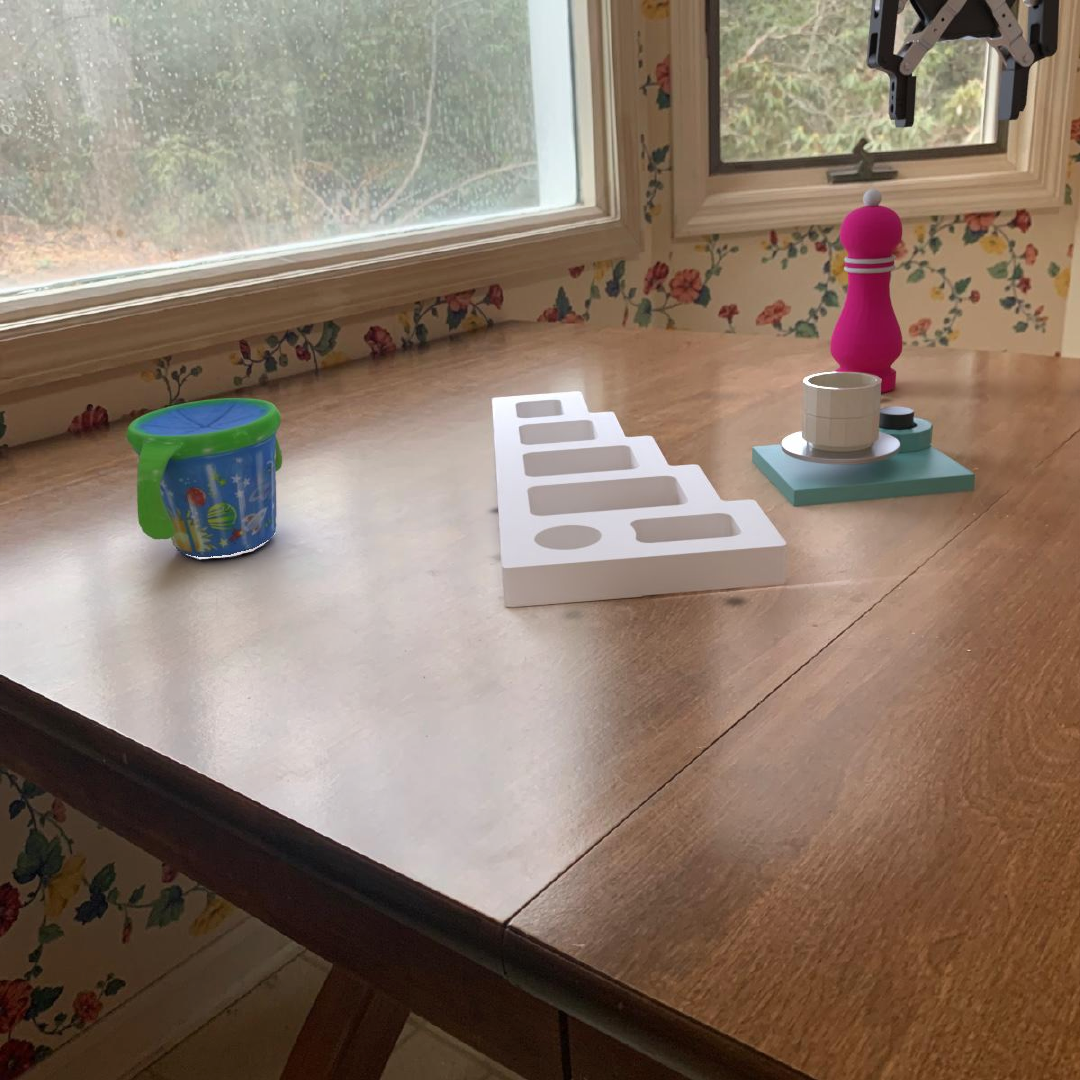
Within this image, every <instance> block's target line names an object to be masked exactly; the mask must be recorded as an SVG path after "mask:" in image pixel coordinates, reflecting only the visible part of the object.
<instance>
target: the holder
mask: <svg viewBox="0 0 1080 1080" xmlns="http://www.w3.org/2000/svg"><path fill="white" fill-rule="evenodd" d="M491 404H492V405H491V406H492V407H491V409H492V422H493V425H492V426H493V441H494V442H493V443H494V456H495V457H494V459H495V476H496V491H497V492H496V493H497V494H496V495H497V508H498V510H497V511H498V524H499V525H498V527H499V529H498V530H499V543H500V545H499V546H500V561H501V576H502V586H503V587H502V588H503V599H504V606H505V607H507V608H520V607H521V608H522V607H531V606H534V607H535V606H545V605H559V604H569V603H582V602H583V603H584V602H593V601H604V600H605V601H606V600H618V599H629V598H641V597H643V598H644V596H653V595H665V594H678V593H679V594H680V593H689V592H690V593H691V592H701V591H702V592H703V591H714V590H716V591H717V590H727V589H738V588H739V589H740V588H751V587H761V586H762V587H763V586H774V585H776V586H777V585H783V584H785V583H786V582H787V541H785V539H784V538H783V536H782V535H781V533H780V532H779V531H778V530H777V528H776V526H774V524H773V523H772V521H771V520H770V519H769V517H768V516H767V514H765V512H764V510H763V509H762V508H761V506H760V505H759V504H758V503H757V501H756V500H755V499H752V498H751V499H750V498H749V499H737V500H735V499H734V500H723V499H721V497H720V495H719V494H718V493H717V491H716V489H715V488H714V487H713V484H711V482H710V480H709V479H708V477H707V476H706V473H704V471H703V469H702V468H701V466H700V465H699V464H694V463H693V464H682V465H670V464H669V463H668V461H667V460H666V458H665V456H664V454H663V452H662V451H661V448H659V446H658V444H657V441H656V440H655V438H654V436H653V435H639V436H626V435H625V433H624V430H623V428H622V427H621V424H620V423H619V420H618V418H617V416H616V414H615V411H599V412H590V411H589V408H588V406H587V403H586V401H585V398H584V396H583V393H582V391H580V390H577V391H576V390H575V391H563V392H551V393H550V392H549V393H538V394H535V393H534V394H524V395H523V394H522V395H512V396H511V395H510V396H497V397H492V398H491Z"/></svg>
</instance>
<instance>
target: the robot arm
mask: <svg viewBox="0 0 1080 1080" xmlns="http://www.w3.org/2000/svg"><path fill="white" fill-rule="evenodd" d="M907 2H909V3H910V6H911V7H912V9H913V10H914V12H915V14H916V16H917V17H918V19H917V21H916V22H915V24H914V25H913V26H912V27H911V29H910V31H909V32H908V34H907V35H906V37H905V38H904V40H903V42H902V46H901V47H900V49H898V51H897V53H894V52H895V44H896V34H897V26H898V25H897V23H898V15H900V14H902V13H903V11H904V10H905V7H906V5H907ZM1016 2H1017V0H871V8H870V17H869V28H868V29H869V30H868V40H867V52H866V61H865V62H866V66H867V67H868V68H869V69H871V70H877V71H880V72H883V73H885V74H886V75H887V76H888V78H889V94H888V97H889V98H888V99H889V100H888V116H889V119H890V121H894V126H895V128H912V127H913V126H914V123H915V112H916V111H915V110H916V109H915V108H916V91H917V75H913V73H914V71H915V70H916V69H917V67H918V65H920V63H921V61H922V60H923V59H924V57H925V56H926V54H927V53H928V52H929V51H930V50H932V49H933V47H934V46H935V45H936V44H937V43H943V42H952V41H957V40H964V41H971V40H974V41H975V40H980V39H985V41H986V42H987V44H988V45H989V46H990V47H991V48H993V49H994V50H995V52H996V53H997V55H998V56H999V58H1000V60H1001V61H1002V63H1003V64H1004V66H1005V70H1001V71H1000V80H999V81H1000V82H999V94H998V107H997V120H998V121H1017V120H1018V119H1019V117H1020V112H1024V110H1025V109H1026V106H1027V101H1028V89H1029V79H1030V70H1031V67H1032V66H1033V65H1034V64H1035V63H1037V62H1039V61H1041V60H1044V59H1046V58H1050V57H1052V56H1054V55H1055V54H1056V53H1057V51H1058V44H1059V43H1058V42H1059V22H1060V21H1059V18H1060V0H1023V3H1024V5H1025V6H1026V7H1028V8H1027V36H1026V37H1027V38H1026V39H1025V37H1024V30H1023V28H1022V27H1021V25H1020V23H1019V22H1018V20H1017V18H1016V17H1015V16H1014V14H1013V12H1012V10H1011V8H1012V7H1013V5H1014V4H1015V3H1016Z"/></svg>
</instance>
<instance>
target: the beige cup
mask: <svg viewBox="0 0 1080 1080" xmlns="http://www.w3.org/2000/svg"><path fill="white" fill-rule="evenodd" d="M802 380H803V381H802V391H801V392H802V395H801V397H802V399H801V431H802V435H801V437H802V438H803V439H804V440H805V441H807V444H808V445H809V446H810V447H812V448H815V449H818V450H823V451H831V452H851V451H858V450H863V449H866V448H869V447H871V446H872V445H873V442H874V441H876V440H878V438H879V421H880V409H881V399H882V397H881V396H882V393H881V380H882V379H881V378H879V377H877V376H875V375H871V374H867V373H859V372H835V371H831V372H830V371H828V372H821V373H816V374H815V373H814V374H810V375H809V376H806V377H804V378H803V379H802Z"/></svg>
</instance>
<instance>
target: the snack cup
mask: <svg viewBox="0 0 1080 1080" xmlns="http://www.w3.org/2000/svg"><path fill="white" fill-rule="evenodd" d="M281 419H282V417H281V411H280V410H279V409H278V408H277V406H276V405H275V404H273V403H272V402H270V401H267V400H263V399H259V398H258V399H257V398H249V397H246V398H245V397H226V398H213V399H204V400H197V401H190V402H185V403H178V404H173V405H170V406H167V407H163V408H159V409H156V410H153V411H150V412H148V413H146V414H143V415H141V416H139V417H137V418H136V419H134V420H133V421H132V422H130V424H129V425H128V427H127V428H126V432H125V433H126V439H127V441H128V442H129V444H130V446H131V447H132V449H133V450H134V452H135V453H136V454H137V455H138V465H137V471H136V472H137V474H136V478H137V479H136V480H137V482H136V494H137V495H136V496H137V498H136V503H137V519H138V524H139V526H140V527H141V530H142V532H143V533H144V534H145V535H146V536H147V537H149V538H151V539H153V540H169V539H171V541H172V545H173V547H174V548H175V547H176V548H175V550H176V549H177V550H178V551H177V550H176V551H177V552H179V551H181V552H182V553H184V554H188V555H191V556H196V557H197V556H198V557H211V556H212V557H213V556H222V555H231V554H234V553H237V552H241V551H246V550H249V549H253V548H255V547H257V546H259V545H260V544H262V543H264V542H266V541H267V540H269V539H270V540H271V539H272V538H273V537H274V536H275V535H274V533H275V532H277V478H276V477H277V472H278V471H279V470H281V468H282V465H283V452H282V450H281V446H280V444H279V440H278V437H277V432H278V431H279V428H280V426H281ZM273 535H274V536H273ZM271 537H272V538H271ZM181 552H180V553H181ZM182 553H181V554H182ZM184 554H183V555H184ZM239 556H241V555H239ZM239 556H235V557H234V558H237V557H239ZM230 558H231V559H232V558H233V557H229V558H228V559H230ZM224 559H225V558H223V559H222V560H224Z"/></svg>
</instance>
